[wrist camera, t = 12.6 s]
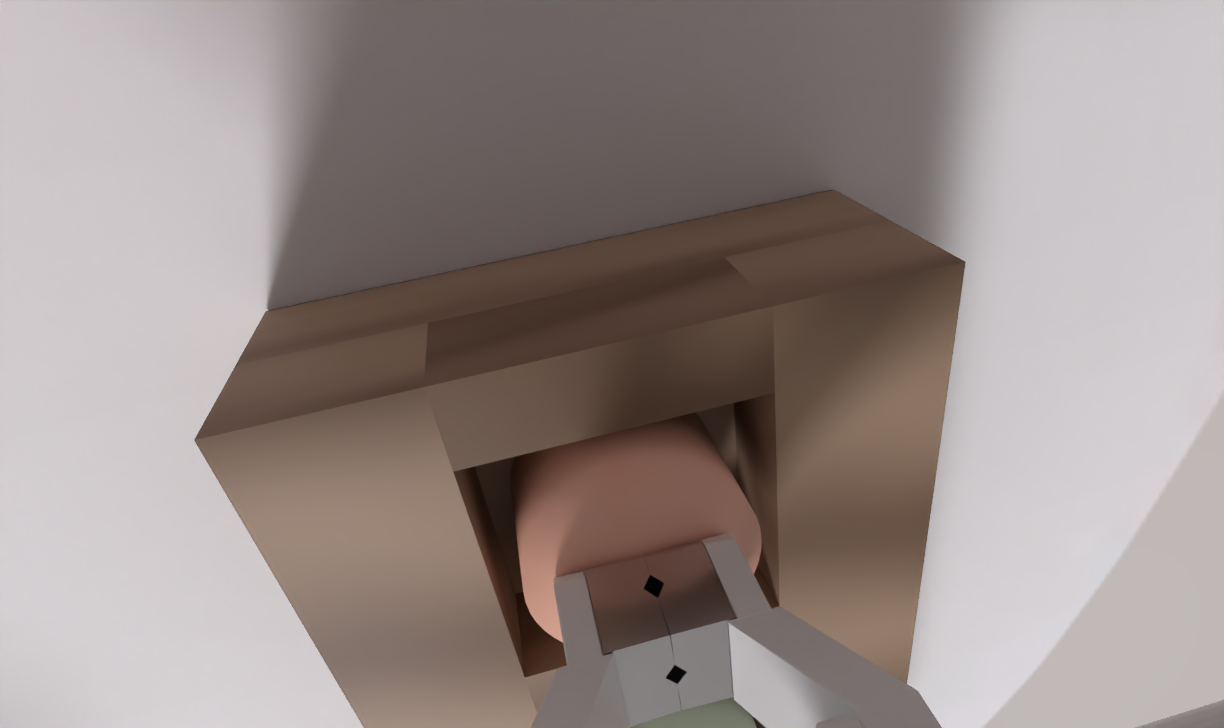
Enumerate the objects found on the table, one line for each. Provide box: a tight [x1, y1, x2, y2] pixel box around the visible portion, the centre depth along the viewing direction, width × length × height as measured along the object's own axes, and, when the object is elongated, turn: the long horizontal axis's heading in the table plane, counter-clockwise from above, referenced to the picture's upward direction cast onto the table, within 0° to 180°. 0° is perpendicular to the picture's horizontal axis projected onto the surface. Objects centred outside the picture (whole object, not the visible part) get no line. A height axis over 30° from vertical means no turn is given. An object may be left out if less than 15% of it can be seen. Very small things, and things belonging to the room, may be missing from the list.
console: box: [195, 190, 965, 728], centre depth 17 cm, size 22×11×4 cm, turn 8°
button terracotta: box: [511, 413, 762, 642], centre depth 12 cm, size 4×4×2 cm
